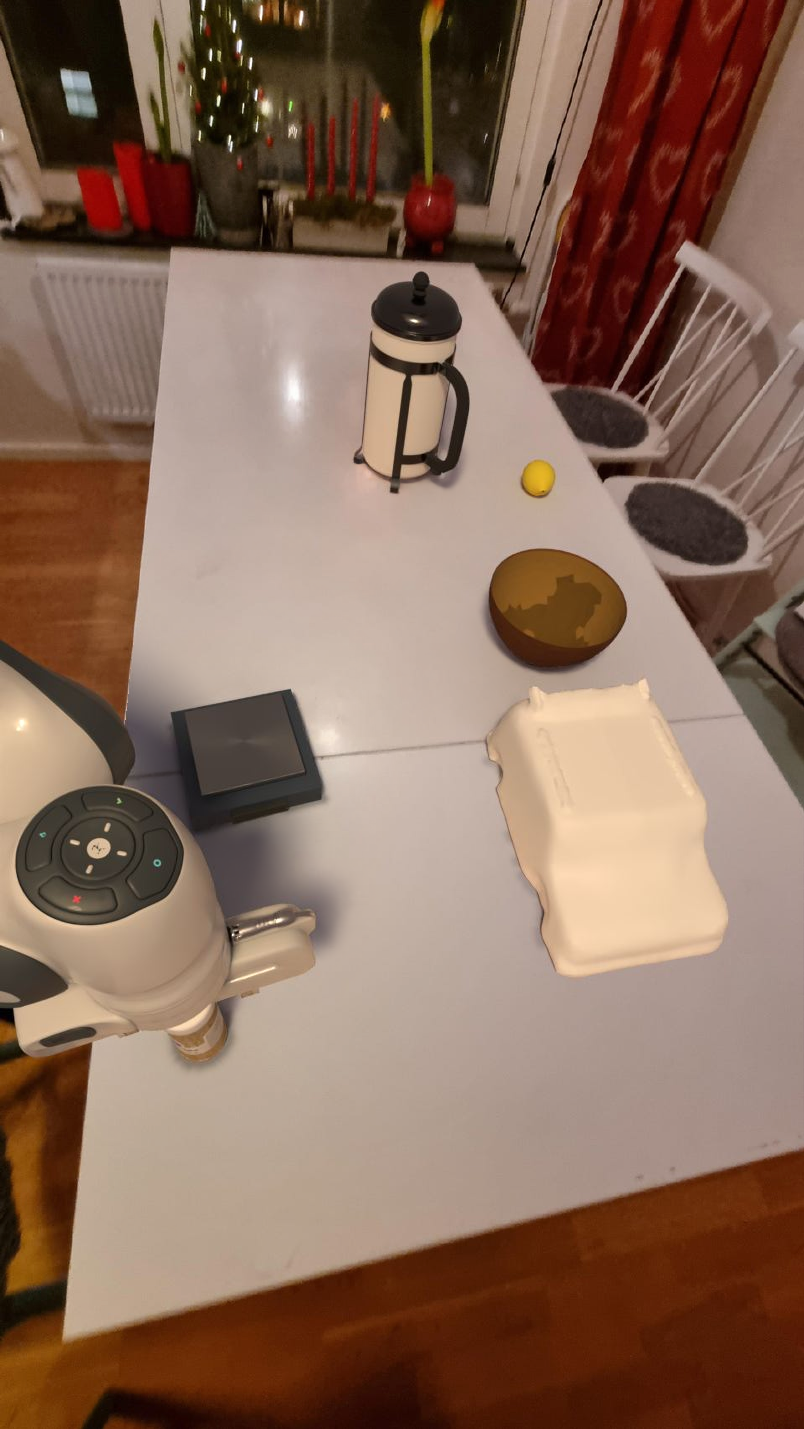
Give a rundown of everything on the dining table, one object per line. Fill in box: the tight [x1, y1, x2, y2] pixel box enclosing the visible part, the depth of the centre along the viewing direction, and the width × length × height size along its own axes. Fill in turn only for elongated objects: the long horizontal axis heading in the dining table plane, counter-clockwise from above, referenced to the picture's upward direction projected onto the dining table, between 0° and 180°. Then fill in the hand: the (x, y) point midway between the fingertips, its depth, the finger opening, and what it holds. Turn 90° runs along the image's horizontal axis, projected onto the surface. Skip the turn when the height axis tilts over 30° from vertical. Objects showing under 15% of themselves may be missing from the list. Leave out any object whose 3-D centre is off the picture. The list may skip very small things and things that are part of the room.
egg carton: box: [485, 675, 730, 979], centre depth 74 cm, size 19×30×13 cm, turn 11°
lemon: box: [521, 459, 556, 497], centre depth 115 cm, size 7×5×5 cm
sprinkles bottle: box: [163, 1001, 228, 1063], centre depth 58 cm, size 5×5×14 cm
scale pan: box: [185, 693, 305, 798], centre depth 77 cm, size 11×11×1 cm
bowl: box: [488, 548, 628, 669], centre depth 92 cm, size 18×18×10 cm
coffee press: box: [353, 270, 471, 494], centre depth 104 cm, size 17×16×30 cm
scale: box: [170, 688, 323, 831], centre depth 79 cm, size 14×15×3 cm
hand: (190, 1004), depth 56 cm, fingers open, 8 cm apart
